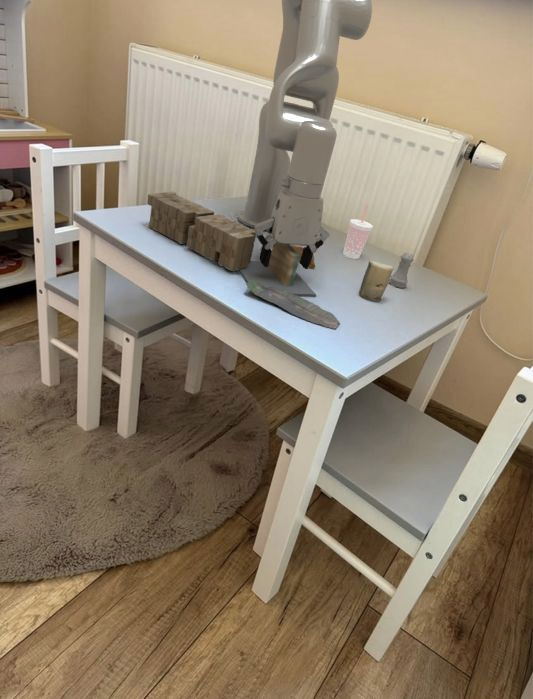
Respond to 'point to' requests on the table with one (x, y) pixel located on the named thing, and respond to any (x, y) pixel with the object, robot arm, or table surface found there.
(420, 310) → the table surface
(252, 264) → the mat
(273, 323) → the table surface
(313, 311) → the mossy stone slab
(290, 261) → the plaque
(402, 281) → the rook chess piece
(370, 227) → the beverage cup
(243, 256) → the block tower
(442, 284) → the table surface
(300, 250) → the shard
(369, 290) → the beige rounded chunk
